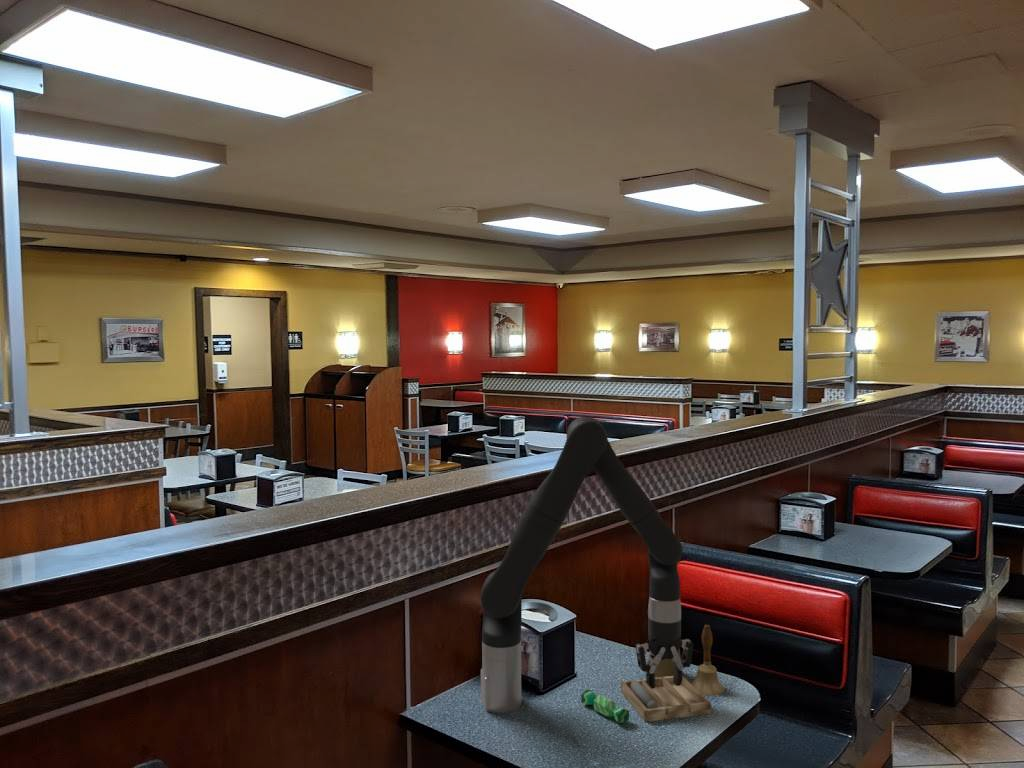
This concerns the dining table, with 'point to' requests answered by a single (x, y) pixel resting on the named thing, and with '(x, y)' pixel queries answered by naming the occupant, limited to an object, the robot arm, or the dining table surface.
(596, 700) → the candy
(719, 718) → the dining table surface
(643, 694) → the grey capsule rod
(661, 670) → the squeeze bottle
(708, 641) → the hand bell
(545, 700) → the dining table surface
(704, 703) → the wooden compartment tray
